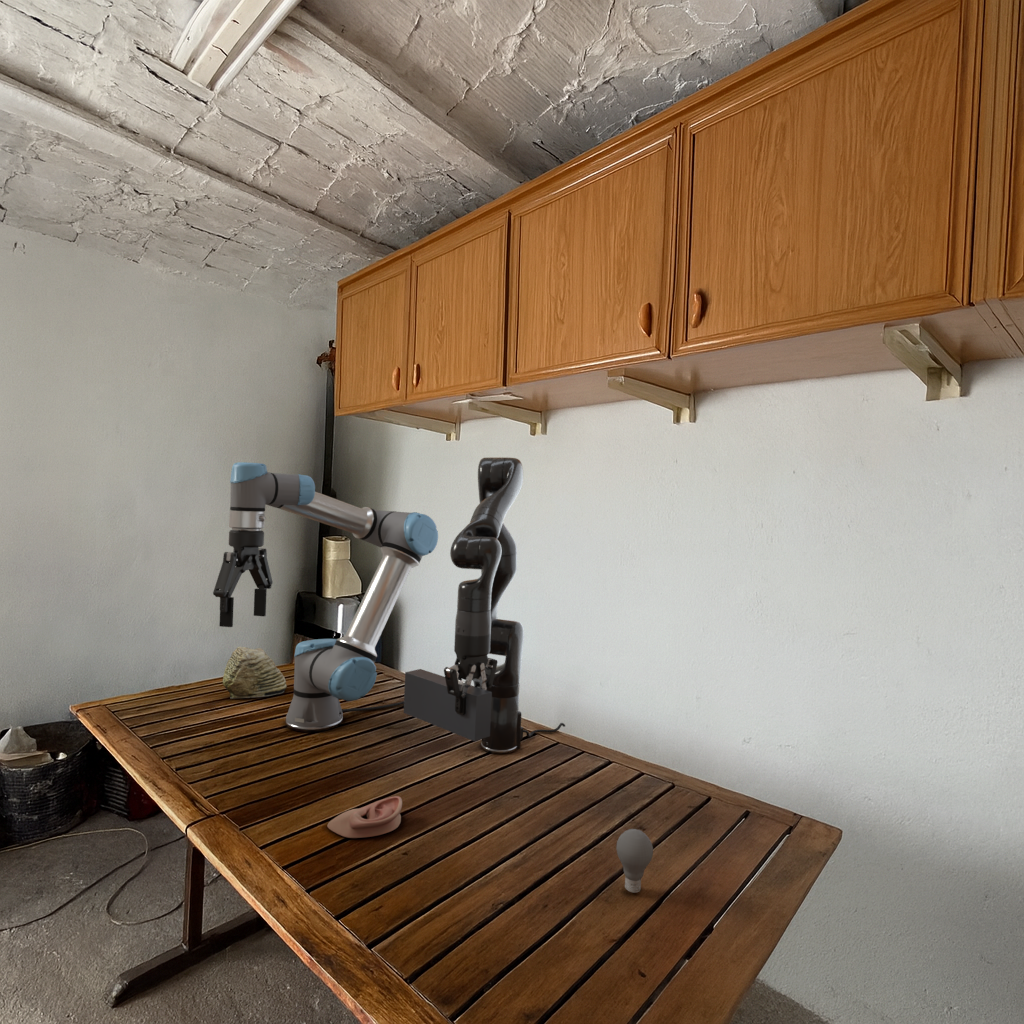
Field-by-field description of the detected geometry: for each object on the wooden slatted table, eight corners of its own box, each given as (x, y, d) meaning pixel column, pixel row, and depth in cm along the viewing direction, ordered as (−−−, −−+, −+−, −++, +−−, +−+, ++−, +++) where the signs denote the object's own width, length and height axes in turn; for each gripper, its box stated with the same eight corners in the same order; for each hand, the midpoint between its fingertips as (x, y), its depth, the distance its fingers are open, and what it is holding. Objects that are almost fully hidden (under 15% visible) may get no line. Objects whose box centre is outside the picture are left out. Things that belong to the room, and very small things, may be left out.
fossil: (218, 695, 195) (220, 647, 195) (278, 685, 208) (279, 640, 207) (228, 703, 189) (230, 653, 188) (289, 692, 201) (290, 645, 201)
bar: (403, 712, 144) (405, 672, 144) (418, 708, 147) (420, 668, 147) (474, 741, 129) (476, 696, 129) (489, 736, 132) (491, 691, 132)
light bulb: (610, 879, 108) (613, 822, 108) (644, 879, 109) (647, 822, 109) (619, 902, 102) (622, 840, 102) (655, 901, 103) (658, 840, 103)
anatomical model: (320, 812, 119) (347, 786, 130) (319, 833, 119) (347, 805, 130) (386, 822, 116) (408, 795, 127) (385, 844, 116) (408, 814, 128)
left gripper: (229, 532, 133) (226, 632, 134) (289, 528, 158) (285, 612, 158) (197, 530, 134) (193, 630, 135) (261, 526, 159) (258, 610, 160)
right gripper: (460, 638, 125) (457, 724, 125) (509, 629, 136) (505, 708, 136) (435, 632, 130) (432, 714, 130) (484, 623, 141) (480, 700, 141)
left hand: (243, 621), depth 147 cm, fingers open, 13 cm apart
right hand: (469, 711), depth 133 cm, fingers closed on bar, 4 cm apart
